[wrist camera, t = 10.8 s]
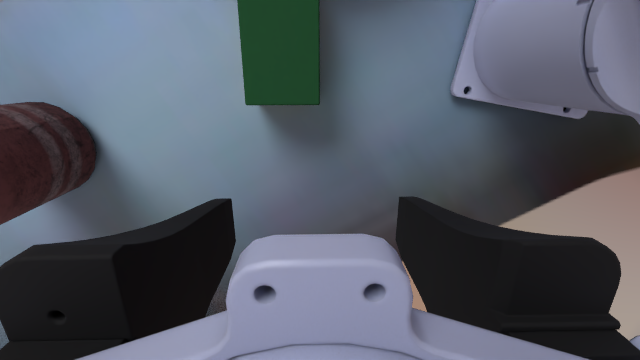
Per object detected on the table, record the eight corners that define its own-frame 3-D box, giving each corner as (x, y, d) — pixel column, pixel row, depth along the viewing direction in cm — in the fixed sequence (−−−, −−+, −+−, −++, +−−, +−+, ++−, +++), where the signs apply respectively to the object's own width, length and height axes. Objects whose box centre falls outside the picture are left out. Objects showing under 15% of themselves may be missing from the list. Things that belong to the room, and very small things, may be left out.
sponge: (248, -9, 19) (235, -27, 15) (318, -9, 19) (319, -27, 16) (255, 100, 21) (245, 105, 17) (318, 100, 21) (319, 105, 18)
